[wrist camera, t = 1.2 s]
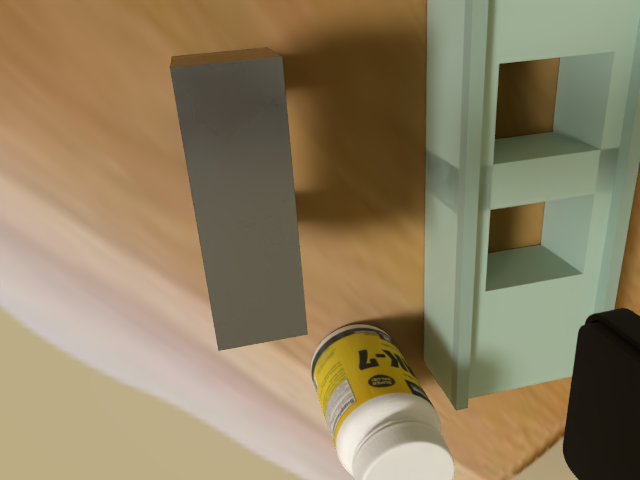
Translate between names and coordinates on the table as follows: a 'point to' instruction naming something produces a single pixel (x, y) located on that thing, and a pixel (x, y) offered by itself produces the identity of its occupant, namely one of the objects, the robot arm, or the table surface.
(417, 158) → the table surface
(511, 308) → the rail
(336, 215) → the table surface
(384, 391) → the supplement bottle
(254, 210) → the tall taupe block
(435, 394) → the table surface
